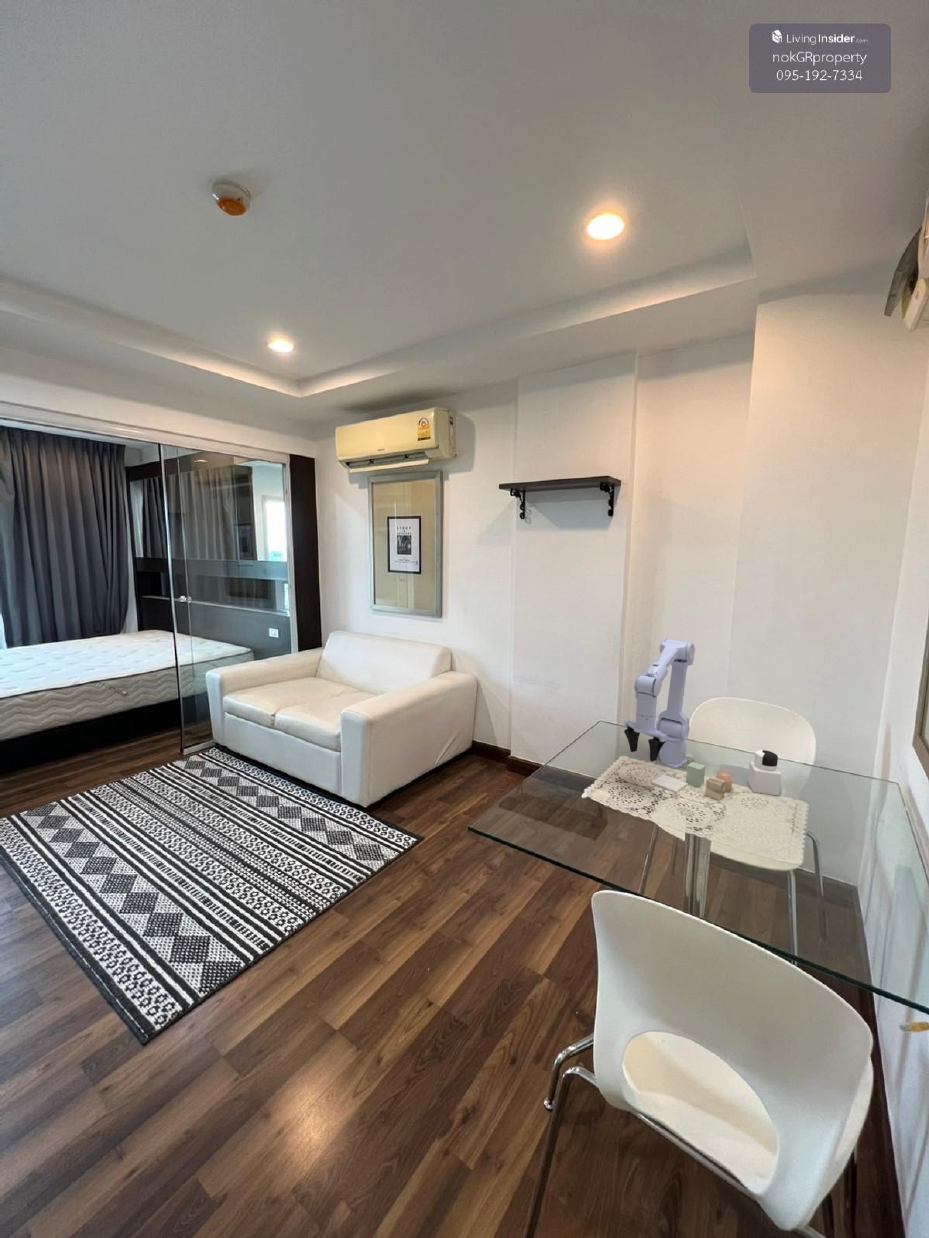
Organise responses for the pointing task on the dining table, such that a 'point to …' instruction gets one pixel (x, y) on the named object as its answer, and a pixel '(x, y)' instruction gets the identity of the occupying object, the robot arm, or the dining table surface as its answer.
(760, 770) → the medicine bottle
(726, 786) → the terracotta cylinder
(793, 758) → the dining table surface
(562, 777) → the dining table surface
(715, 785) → the maple block
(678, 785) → the coaster
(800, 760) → the dining table surface
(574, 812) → the dining table surface
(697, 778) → the green block
